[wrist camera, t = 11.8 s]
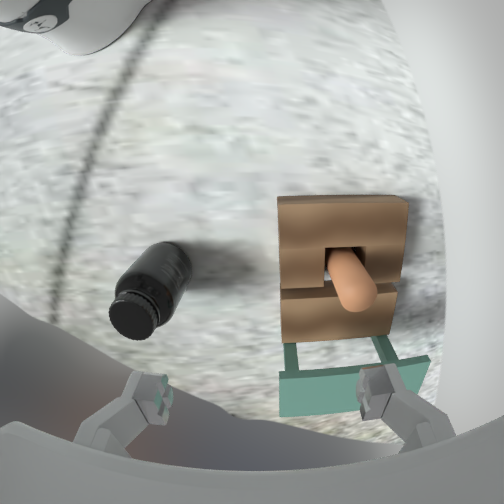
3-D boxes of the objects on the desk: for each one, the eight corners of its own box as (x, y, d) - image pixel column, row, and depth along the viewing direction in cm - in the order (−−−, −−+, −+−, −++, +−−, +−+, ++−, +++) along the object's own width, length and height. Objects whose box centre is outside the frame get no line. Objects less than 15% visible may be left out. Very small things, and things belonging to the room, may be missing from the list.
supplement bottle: (138, 241, 36) (91, 286, 24) (190, 240, 35) (157, 289, 24) (147, 289, 38) (109, 344, 27) (195, 291, 38) (170, 352, 27)
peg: (322, 239, 34) (341, 278, 25) (351, 238, 34) (379, 276, 25) (321, 267, 36) (338, 313, 26) (350, 266, 35) (374, 310, 26)
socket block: (277, 196, 33) (278, 204, 29) (394, 195, 32) (408, 202, 28) (280, 324, 39) (281, 343, 35) (380, 317, 38) (389, 334, 34)
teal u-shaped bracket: (276, 299, 38) (279, 379, 25) (387, 292, 37) (430, 361, 24) (277, 336, 40) (279, 417, 27) (381, 328, 39) (414, 400, 26)
